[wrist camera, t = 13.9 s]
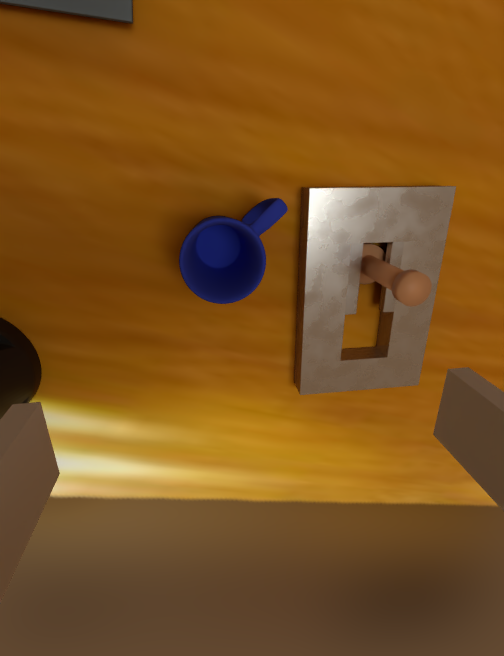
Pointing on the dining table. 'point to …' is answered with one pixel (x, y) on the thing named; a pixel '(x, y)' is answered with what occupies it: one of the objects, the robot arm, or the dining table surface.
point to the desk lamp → (82, 8)
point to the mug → (228, 253)
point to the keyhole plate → (344, 274)
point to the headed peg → (393, 277)
